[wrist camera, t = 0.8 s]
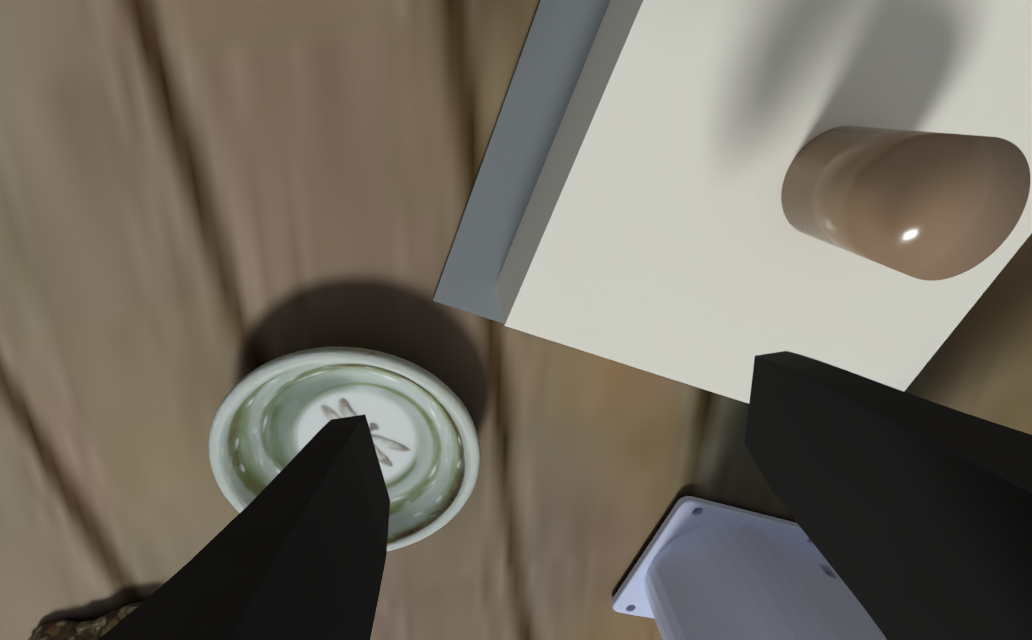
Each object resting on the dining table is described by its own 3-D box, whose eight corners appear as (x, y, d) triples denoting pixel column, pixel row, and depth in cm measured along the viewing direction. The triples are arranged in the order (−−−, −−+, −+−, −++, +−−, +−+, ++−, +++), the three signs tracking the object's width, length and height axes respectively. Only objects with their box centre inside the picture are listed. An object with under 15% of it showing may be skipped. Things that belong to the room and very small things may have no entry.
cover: (1049, 39, 16) (1466, 0, 10) (802, 387, 21) (961, 523, 14) (692, -203, 13) (954, -535, 6) (496, 283, 18) (519, 398, 11)
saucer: (189, 448, 20) (156, 493, 18) (318, 269, 17) (297, 295, 15) (392, 543, 23) (385, 590, 21) (525, 404, 21) (532, 442, 18)
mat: (1108, 21, 16) (1119, 19, 16) (812, 419, 22) (817, 423, 22) (651, -311, 12) (655, -320, 12) (433, 297, 18) (432, 300, 18)
